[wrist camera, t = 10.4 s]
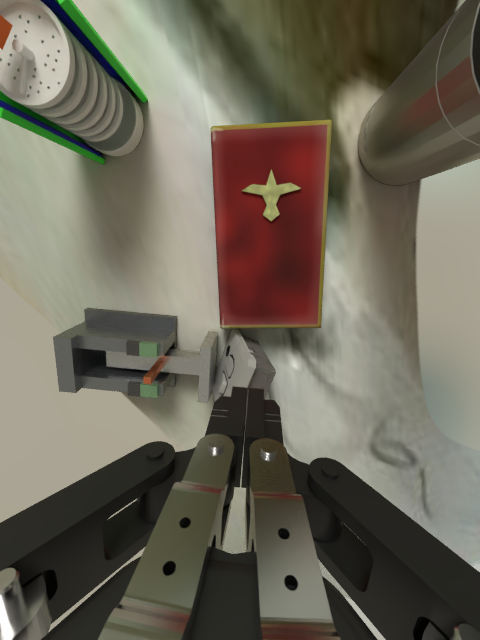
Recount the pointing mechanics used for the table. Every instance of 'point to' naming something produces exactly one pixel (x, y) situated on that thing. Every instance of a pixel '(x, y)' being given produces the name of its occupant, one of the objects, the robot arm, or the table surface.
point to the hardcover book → (271, 222)
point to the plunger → (175, 364)
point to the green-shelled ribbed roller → (65, 80)
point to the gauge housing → (118, 336)
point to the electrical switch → (242, 367)
